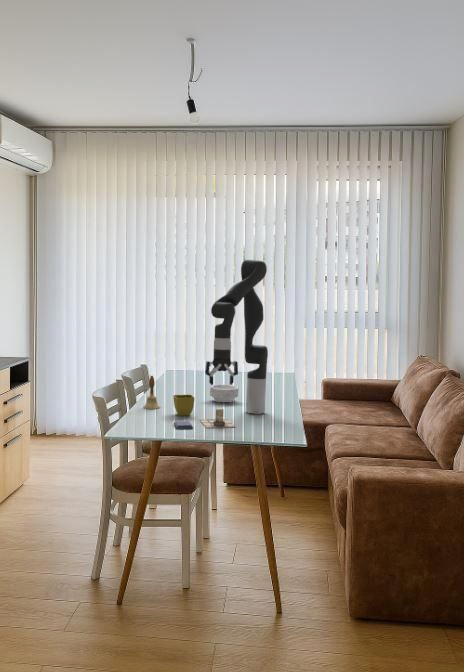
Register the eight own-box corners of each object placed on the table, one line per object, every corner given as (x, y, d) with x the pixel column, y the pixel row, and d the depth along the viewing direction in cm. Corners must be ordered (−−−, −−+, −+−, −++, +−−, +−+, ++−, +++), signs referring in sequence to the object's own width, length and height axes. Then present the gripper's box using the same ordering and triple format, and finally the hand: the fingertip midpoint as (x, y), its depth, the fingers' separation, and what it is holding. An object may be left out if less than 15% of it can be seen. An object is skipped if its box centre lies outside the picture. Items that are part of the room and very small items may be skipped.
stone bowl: (238, 404, 338) (238, 389, 337) (208, 403, 338) (209, 388, 337) (238, 399, 353) (238, 384, 352) (210, 398, 353) (210, 384, 352)
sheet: (199, 420, 296) (199, 419, 296) (227, 419, 299) (227, 418, 299) (206, 428, 280) (206, 427, 280) (235, 427, 283) (235, 426, 283)
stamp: (212, 423, 287) (212, 408, 287) (223, 423, 289) (223, 408, 288) (215, 426, 283) (215, 410, 282) (226, 426, 284) (226, 410, 283)
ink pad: (173, 424, 286) (173, 421, 285) (189, 424, 287) (189, 420, 287) (176, 429, 277) (176, 425, 277) (192, 428, 278) (192, 425, 278)
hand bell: (149, 409, 317) (149, 377, 316) (140, 407, 323) (140, 375, 322) (163, 408, 322) (164, 376, 321) (154, 405, 328) (154, 374, 327)
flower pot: (175, 417, 302) (176, 398, 301) (172, 413, 310) (173, 394, 309) (194, 416, 304) (194, 397, 303) (190, 412, 313) (191, 394, 312)
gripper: (236, 347, 288) (235, 383, 290) (204, 347, 285) (203, 383, 287) (240, 349, 281) (239, 385, 283) (207, 348, 278) (206, 386, 279)
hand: (221, 384), depth 285 cm, fingers open, 8 cm apart
